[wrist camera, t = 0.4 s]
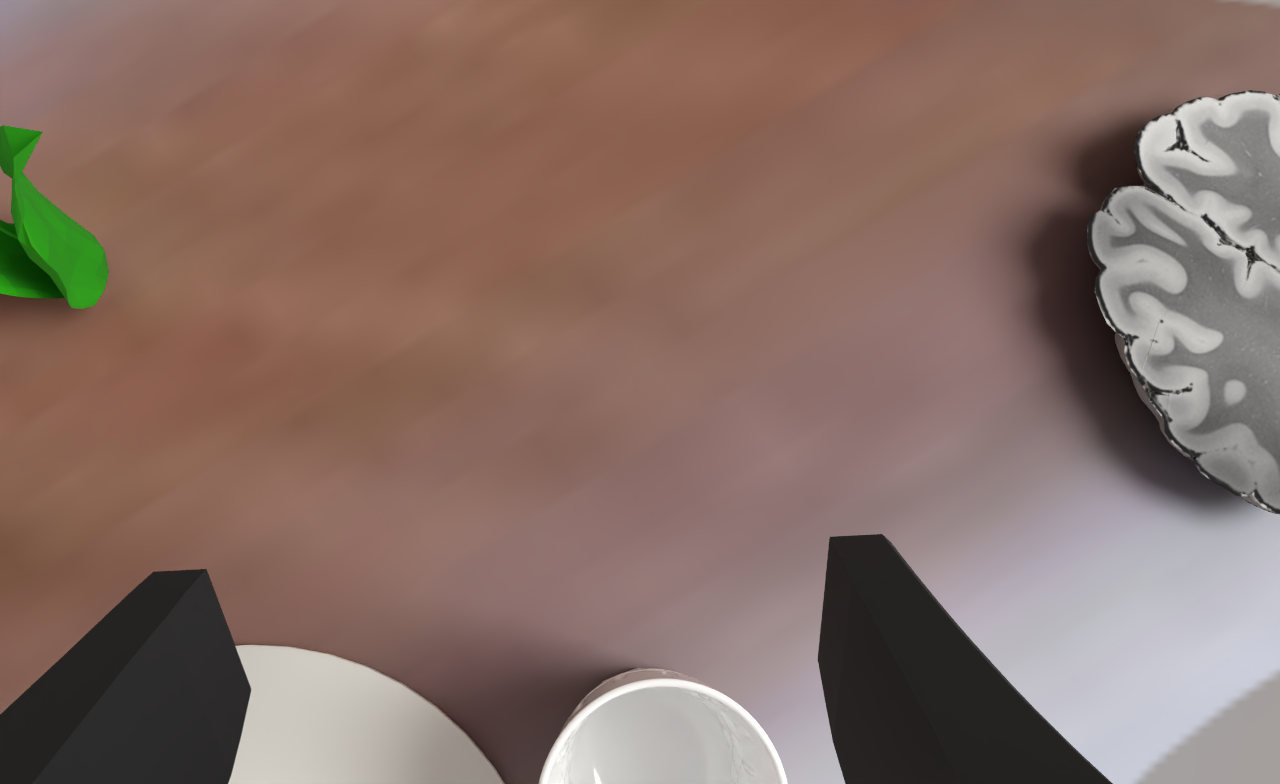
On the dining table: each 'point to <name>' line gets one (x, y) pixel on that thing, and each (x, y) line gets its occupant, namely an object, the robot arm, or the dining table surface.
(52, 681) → the robot arm
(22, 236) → the flower
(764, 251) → the dining table surface
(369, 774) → the white plate
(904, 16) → the dining table surface
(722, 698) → the white cup
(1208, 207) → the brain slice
